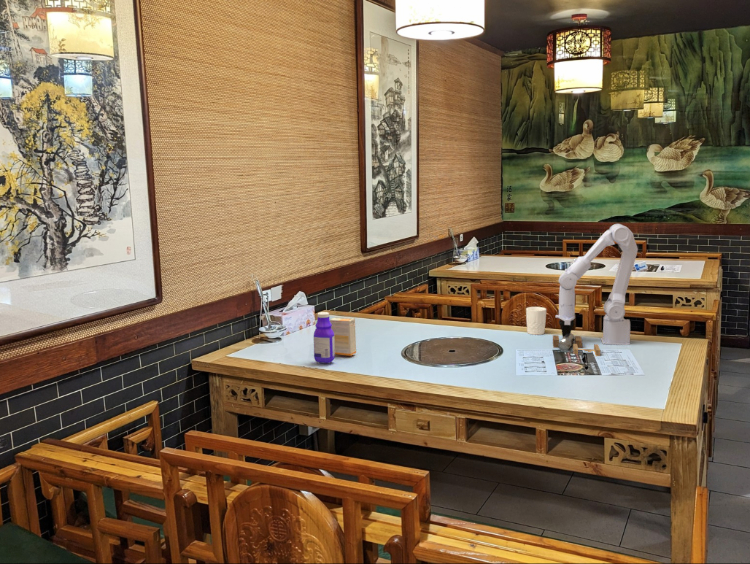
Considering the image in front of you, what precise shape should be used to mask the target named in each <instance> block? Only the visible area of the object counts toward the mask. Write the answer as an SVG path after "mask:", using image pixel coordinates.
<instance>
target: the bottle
mask: <svg viewBox="0 0 750 564" xmlns="http://www.w3.org/2000/svg"><path fill="white" fill-rule="evenodd" d="M316 320H317V321H316V323H315V329H314V332H313V358H314V361H315V362H316V363H324V364H329V363H331V362H333V361H334V360H335V358H336V357H335V355H336V354H335V342H334V332H333V330H332V329H331V326H332V324H331V322H330V320H331V318H330V312H328V311H320V312H318V313H317V319H316Z"/></svg>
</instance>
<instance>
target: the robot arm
mask: <svg viewBox="0 0 750 564" xmlns="http://www.w3.org/2000/svg"><path fill="white" fill-rule="evenodd" d="M615 243H616V244H617V245H618V247H619V248H620V250H621V256H620V260H619V263H618V268H617V271H616V274H615V278H614V280H613V281H614V282H613V284H612V285H613V286H612V290H611V292H610V293H609V295H608V299H607V300H606V301H605V303H604V304H603V307H602V308H603V311H604V313H605V315H604V316H603V326H602V327H603V329H602V337H600V341H601V343H602V345H615V346H616V345H617V346H619V345H622V346H624V345H626V346H630V345H631V321H630V319H625V318H624V317H625V314H626V310H625V309H626V308H625V304H626V294H627V290H628V287H629V282H630V280H631V279H630V278H631V276H632V272H633V269H634V265H635V261H636V258H637V253H638V251H639V250H638V249H639V248H638V245H637V243H636V239H635V237H634V233H633V232H632V231H631V229H629V227H627V226H625V225H623V224H621V223H615V224H613V225H611V226H610V227H609V229H607V230H606V231H604V233H602V235H601V236H600V237H599V238H598V239H597V240H596V242H595V243H594V244H593V245H592V246H591V247H590V248H589V250H588V251H587V252H586V253H585V254H584V255H583V256H578V257H577V258H576V257H575V258H574V259H573V262H572V263H571V265H570V266H569V267H568V268H565V269H564V272H562V273H561V274H560V275H559V278H558V280H557V281H558V283H559V292H558V314H556V315H555V318H556V319H558V324H559V326H560V329H561V336H562V338H563V337H564V336H565V335H566V334H567V333H572V329H573V327H574V325H575V320H574V319H575V318H576V315H575V309H576V308H575V305H576V304H575V303H576V292H575V287H576V286H577V281H578V280H580V279H581V278H582V277H583V276H584V275H585V274H586V273H587V271H589V269H591V267H592V266H591V263H592V261H593V260H594V259H596V257H597V256H598V255H599V254H600V253H601V252H602V251H603V250H604V249H605V248H606V247H609V246H613V245H616V244H615ZM559 319H560V320H559Z"/></svg>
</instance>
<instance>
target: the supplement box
mask: <svg viewBox="0 0 750 564" xmlns="http://www.w3.org/2000/svg"><path fill="white" fill-rule="evenodd" d="M330 322H331V324H332V326H331V329H332V330H333V332H334V342H335V355H341V356H349V357H350V356H353V355H355V354H356V353H357V336H356V335H357V333H356V318H353V317H338V316H337V317H333V318H330Z"/></svg>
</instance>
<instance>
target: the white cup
mask: <svg viewBox="0 0 750 564" xmlns="http://www.w3.org/2000/svg"><path fill="white" fill-rule="evenodd" d="M525 312H526V313H525V314H526V315H525V317H526V332H527V334H528V335H534V336H541V335H544V334H545V331H546V330H545V329H546V328H545V327H546V319H547V308H546V307H543V306H542V307H541V306H529V307H526V308H525Z"/></svg>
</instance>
